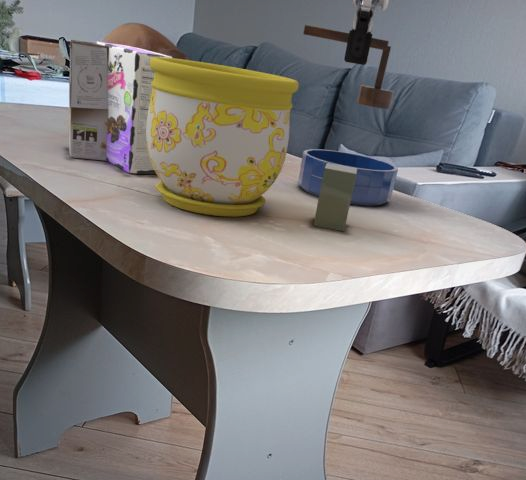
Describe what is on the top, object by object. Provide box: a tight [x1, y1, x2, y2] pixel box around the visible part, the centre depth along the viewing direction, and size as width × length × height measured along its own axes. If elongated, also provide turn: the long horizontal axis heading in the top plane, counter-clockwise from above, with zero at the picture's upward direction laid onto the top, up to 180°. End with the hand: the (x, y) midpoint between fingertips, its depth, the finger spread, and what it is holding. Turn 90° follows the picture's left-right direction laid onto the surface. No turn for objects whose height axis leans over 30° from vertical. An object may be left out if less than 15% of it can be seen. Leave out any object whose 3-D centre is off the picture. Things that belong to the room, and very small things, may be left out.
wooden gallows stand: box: [302, 24, 395, 110], centre depth 89 cm, size 14×5×9 cm, turn 82°
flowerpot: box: [146, 57, 300, 218], centre depth 78 cm, size 18×18×16 cm
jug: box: [101, 22, 190, 60], centre depth 112 cm, size 20×20×30 cm
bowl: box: [297, 148, 399, 207], centre depth 100 cm, size 15×15×6 cm
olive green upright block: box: [313, 163, 357, 232], centre depth 80 cm, size 4×4×7 cm
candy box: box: [96, 41, 172, 175], centre depth 92 cm, size 14×6×16 cm, turn 36°
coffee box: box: [68, 39, 109, 162], centre depth 95 cm, size 9×6×16 cm
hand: (355, 62), depth 88 cm, fingers closed on wooden gallows stand, 1 cm apart
